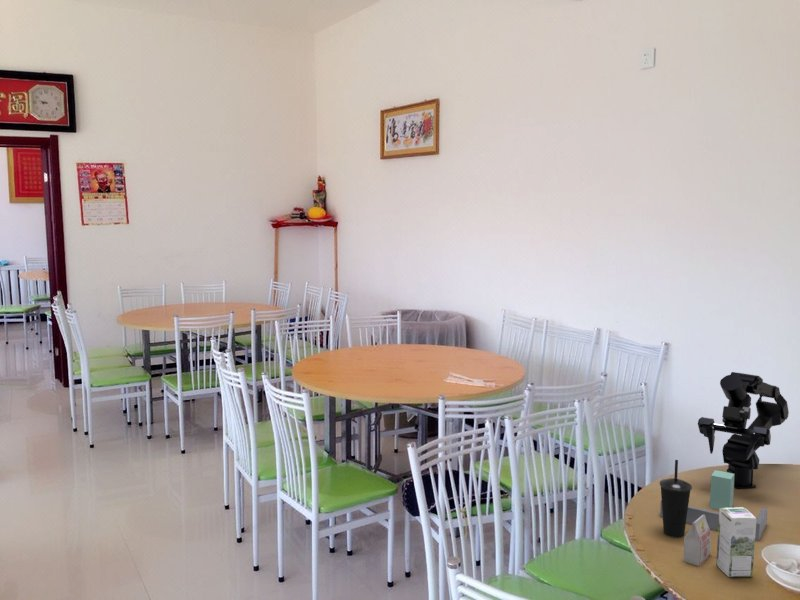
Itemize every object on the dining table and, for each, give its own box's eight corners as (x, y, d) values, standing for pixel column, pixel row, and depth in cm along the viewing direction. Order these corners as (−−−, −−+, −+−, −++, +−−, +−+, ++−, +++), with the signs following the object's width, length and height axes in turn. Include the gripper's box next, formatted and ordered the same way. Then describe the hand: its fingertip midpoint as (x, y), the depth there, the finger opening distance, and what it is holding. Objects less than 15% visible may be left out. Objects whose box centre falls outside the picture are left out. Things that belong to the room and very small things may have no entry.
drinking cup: (651, 531, 175) (653, 457, 173) (673, 526, 178) (676, 453, 176) (673, 544, 168) (676, 467, 166) (696, 538, 171) (699, 462, 169)
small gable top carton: (683, 561, 160) (685, 521, 159) (694, 551, 165) (696, 512, 164) (699, 566, 158) (701, 525, 156) (710, 556, 162) (711, 516, 161)
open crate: (671, 504, 192) (672, 487, 191) (766, 526, 178) (767, 508, 177) (660, 518, 183) (660, 501, 182) (758, 543, 168) (759, 524, 168)
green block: (713, 503, 192) (715, 470, 191) (732, 508, 189) (734, 473, 188) (709, 509, 188) (711, 475, 187) (729, 514, 185) (730, 479, 184)
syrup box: (739, 564, 158) (742, 505, 156) (753, 578, 152) (756, 516, 151) (715, 565, 158) (718, 506, 156) (728, 578, 152) (731, 517, 150)
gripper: (700, 390, 200) (689, 435, 192) (771, 400, 189) (762, 448, 181) (705, 410, 207) (695, 455, 199) (774, 420, 196) (765, 468, 188)
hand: (728, 456), depth 192 cm, fingers open, 9 cm apart
